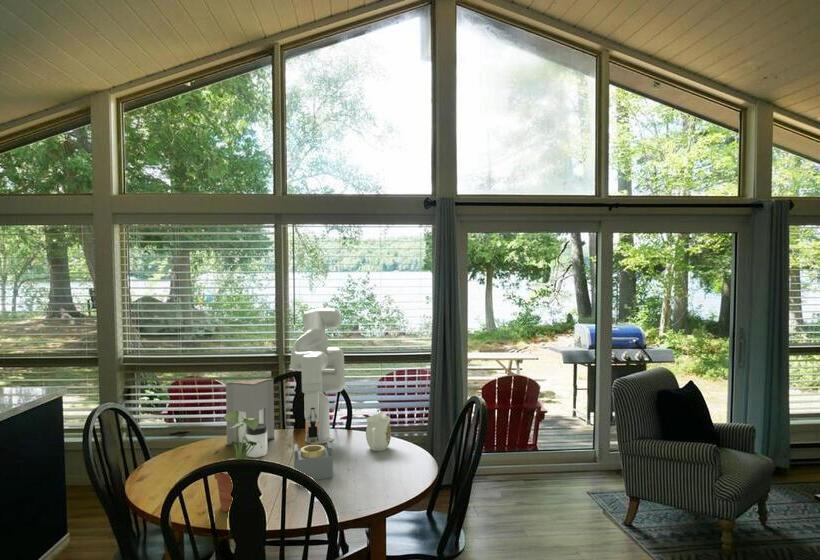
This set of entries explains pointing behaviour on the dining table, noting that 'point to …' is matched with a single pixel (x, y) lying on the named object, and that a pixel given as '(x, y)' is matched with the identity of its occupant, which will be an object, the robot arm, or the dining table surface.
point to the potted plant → (224, 478)
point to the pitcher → (378, 432)
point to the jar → (256, 436)
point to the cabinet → (250, 406)
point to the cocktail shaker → (316, 439)
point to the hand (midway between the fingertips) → (312, 434)
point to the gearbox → (314, 461)
